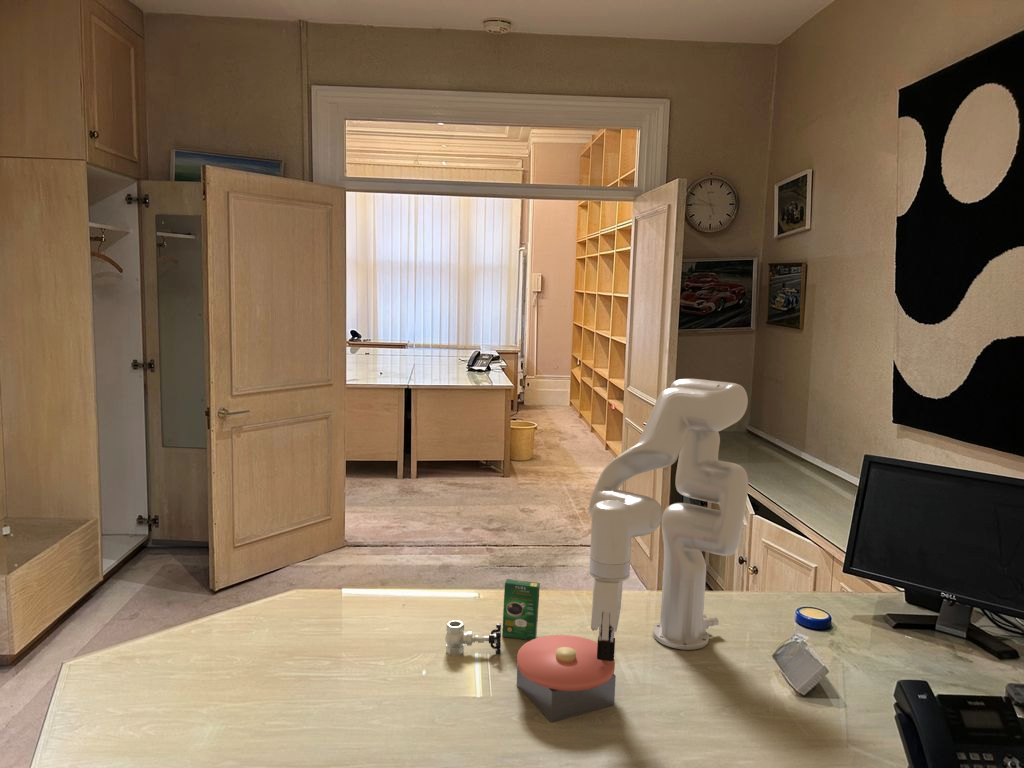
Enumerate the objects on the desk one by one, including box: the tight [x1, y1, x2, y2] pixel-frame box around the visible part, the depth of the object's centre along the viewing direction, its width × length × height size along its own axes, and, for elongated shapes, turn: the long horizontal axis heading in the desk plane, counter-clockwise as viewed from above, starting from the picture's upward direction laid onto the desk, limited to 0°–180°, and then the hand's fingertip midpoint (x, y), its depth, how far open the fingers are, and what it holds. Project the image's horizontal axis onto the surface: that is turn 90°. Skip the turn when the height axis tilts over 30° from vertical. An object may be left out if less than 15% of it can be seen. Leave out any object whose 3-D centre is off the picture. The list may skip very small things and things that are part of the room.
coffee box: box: [501, 578, 541, 641], centre depth 167 cm, size 8×3×13 cm, turn 79°
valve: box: [444, 619, 502, 657], centre depth 160 cm, size 7×7×12 cm
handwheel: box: [516, 634, 616, 691], centre depth 143 cm, size 19×19×5 cm
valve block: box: [516, 665, 617, 723], centre depth 144 cm, size 14×14×6 cm
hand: (605, 658), depth 141 cm, fingers closed
